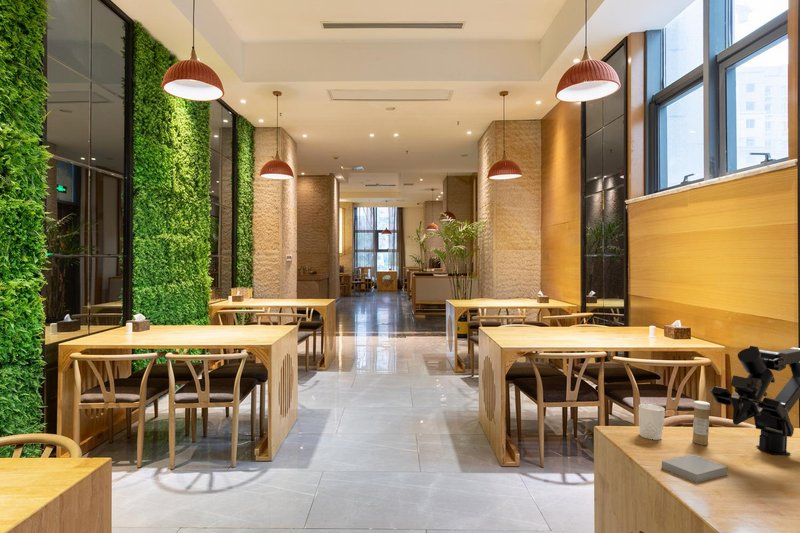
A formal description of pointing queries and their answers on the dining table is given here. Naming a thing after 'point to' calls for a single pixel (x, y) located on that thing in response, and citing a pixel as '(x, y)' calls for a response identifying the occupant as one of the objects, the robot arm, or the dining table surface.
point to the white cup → (651, 421)
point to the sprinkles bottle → (701, 422)
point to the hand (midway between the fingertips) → (734, 423)
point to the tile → (694, 468)
